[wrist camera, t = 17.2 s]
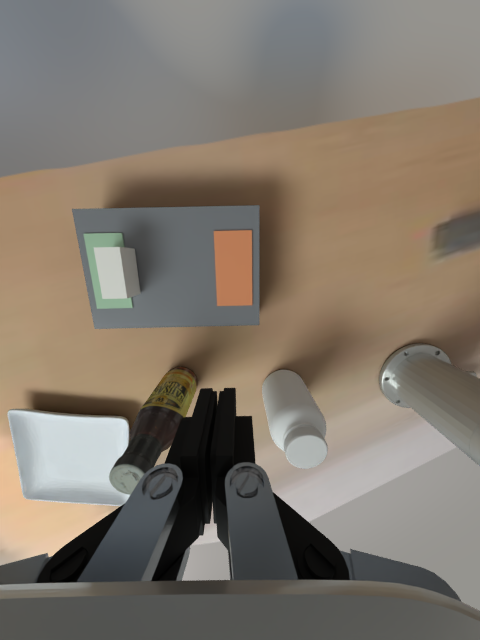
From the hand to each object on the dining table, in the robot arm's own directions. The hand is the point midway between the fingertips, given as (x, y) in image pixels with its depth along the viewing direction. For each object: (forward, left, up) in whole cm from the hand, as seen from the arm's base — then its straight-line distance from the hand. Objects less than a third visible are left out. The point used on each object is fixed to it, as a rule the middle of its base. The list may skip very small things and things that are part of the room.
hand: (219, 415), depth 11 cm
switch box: (+8, -6, -29) cm, 30 cm away
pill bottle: (-9, +16, -29) cm, 34 cm away
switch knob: (+14, -6, -22) cm, 27 cm away
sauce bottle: (+10, +14, -29) cm, 34 cm away
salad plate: (+31, +29, -29) cm, 52 cm away
